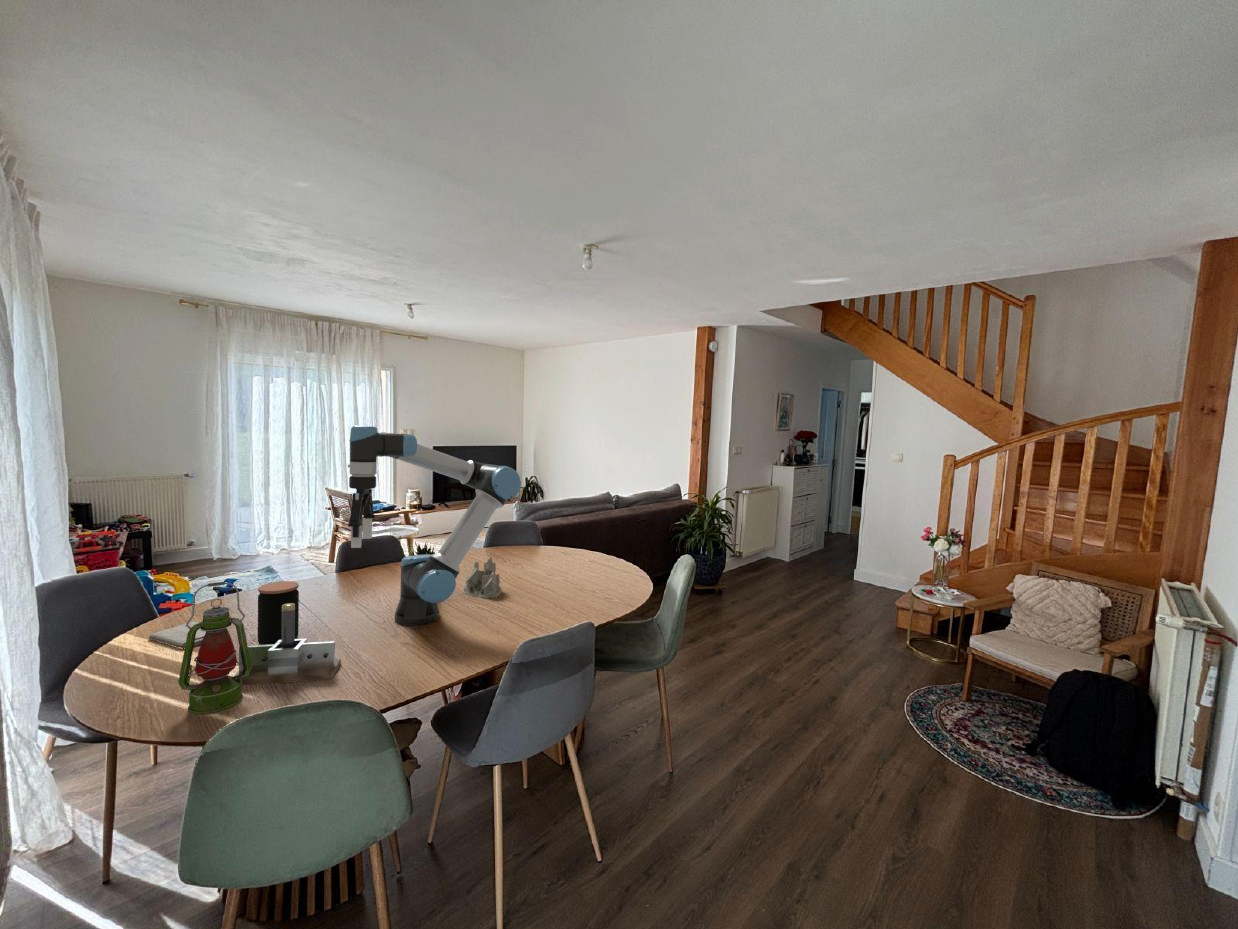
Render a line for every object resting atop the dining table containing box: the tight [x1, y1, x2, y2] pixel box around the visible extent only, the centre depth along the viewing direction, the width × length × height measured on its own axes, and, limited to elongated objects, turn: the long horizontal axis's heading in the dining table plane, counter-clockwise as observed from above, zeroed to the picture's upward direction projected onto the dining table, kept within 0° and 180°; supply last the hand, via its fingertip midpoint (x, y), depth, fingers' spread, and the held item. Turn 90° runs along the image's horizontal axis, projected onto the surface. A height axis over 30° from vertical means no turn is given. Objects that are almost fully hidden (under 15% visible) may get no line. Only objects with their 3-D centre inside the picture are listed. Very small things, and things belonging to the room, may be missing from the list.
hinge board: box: [232, 658, 342, 686], centre depth 138 cm, size 24×9×2 cm, turn 104°
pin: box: [282, 603, 295, 648], centre depth 137 cm, size 3×3×18 cm
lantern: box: [178, 581, 251, 716], centre depth 122 cm, size 14×11×30 cm
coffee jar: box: [257, 580, 300, 645], centre depth 158 cm, size 11×11×18 cm
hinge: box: [238, 638, 336, 676], centre depth 138 cm, size 23×7×7 cm, turn 104°
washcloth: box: [148, 621, 206, 648], centre depth 158 cm, size 12×18×3 cm, turn 70°
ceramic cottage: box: [463, 556, 503, 599], centre depth 215 cm, size 16×16×15 cm
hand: (361, 542), depth 157 cm, fingers open, 13 cm apart
